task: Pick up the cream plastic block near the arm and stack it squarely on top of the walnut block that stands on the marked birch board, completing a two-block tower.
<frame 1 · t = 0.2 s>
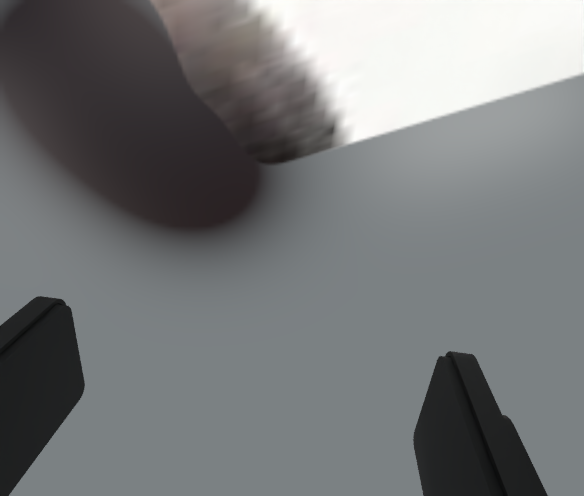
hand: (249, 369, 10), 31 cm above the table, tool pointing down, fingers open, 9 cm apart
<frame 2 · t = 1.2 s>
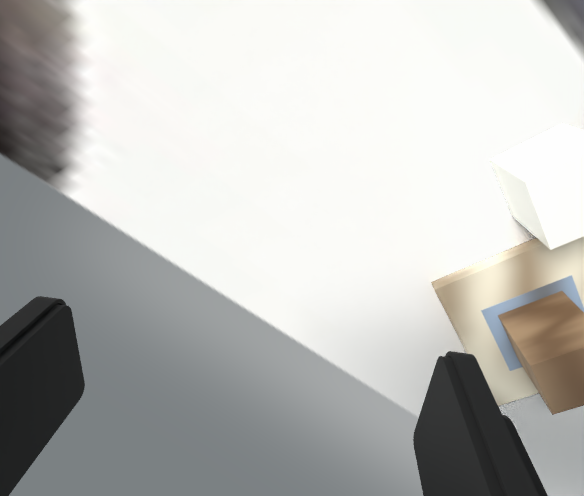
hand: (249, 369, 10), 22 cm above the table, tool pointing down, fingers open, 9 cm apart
birch board: (532, 317, 34), on the table
walnut block: (538, 326, 33), point 1 cm above the table, touching birch board
cream block: (535, 172, 29), on the table
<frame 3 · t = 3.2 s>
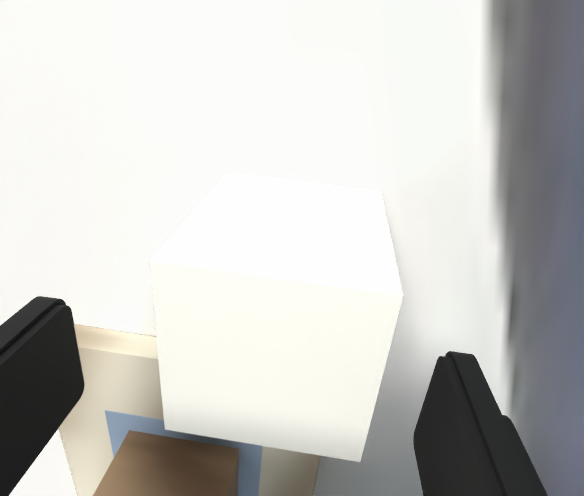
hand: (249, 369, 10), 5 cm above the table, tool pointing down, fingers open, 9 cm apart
birch board: (194, 450, 20), on the table
walnut block: (185, 474, 19), point 1 cm above the table, touching birch board
cream block: (296, 248, 14), on the table
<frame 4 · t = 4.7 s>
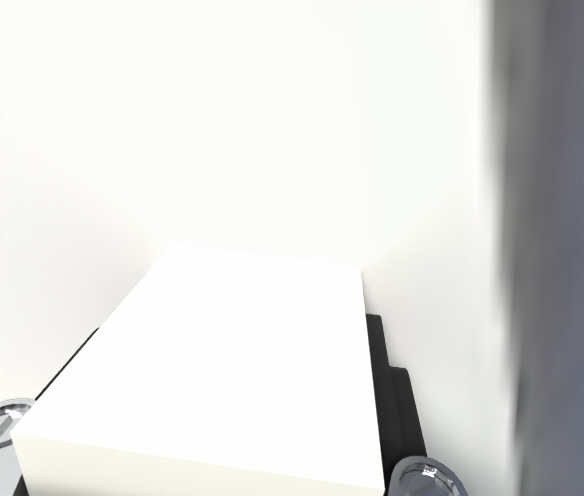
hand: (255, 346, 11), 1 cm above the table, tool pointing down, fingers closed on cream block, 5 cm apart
cream block: (259, 331, 12), on the table, touching gripper
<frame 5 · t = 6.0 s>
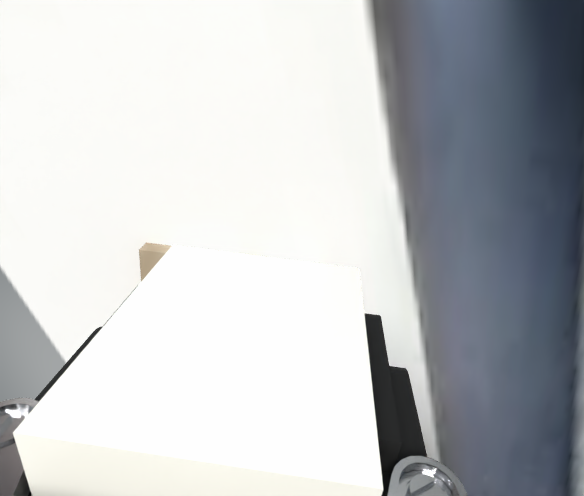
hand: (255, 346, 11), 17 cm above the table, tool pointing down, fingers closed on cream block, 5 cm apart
birch board: (226, 333, 32), on the table
cream block: (259, 332, 12), point 16 cm above the table, touching gripper
when the fingers open (9 cm above the table, at t = 9.8 s): cream block stays where it is, resting on walnut block.
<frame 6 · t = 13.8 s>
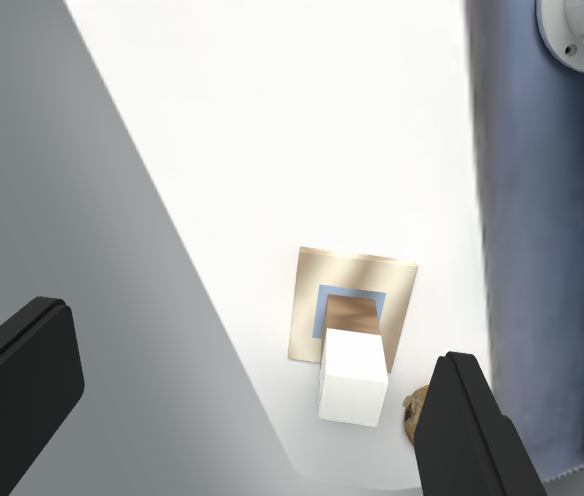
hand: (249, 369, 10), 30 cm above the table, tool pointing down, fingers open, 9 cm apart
bread roll: (445, 406, 50), on the table
birch board: (347, 309, 45), on the table
walnut block: (347, 316, 44), point 1 cm above the table, touching birch board, cream block
cream block: (349, 352, 39), point 7 cm above the table, touching walnut block
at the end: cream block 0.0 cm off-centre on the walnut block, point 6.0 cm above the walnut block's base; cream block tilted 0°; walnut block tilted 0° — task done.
